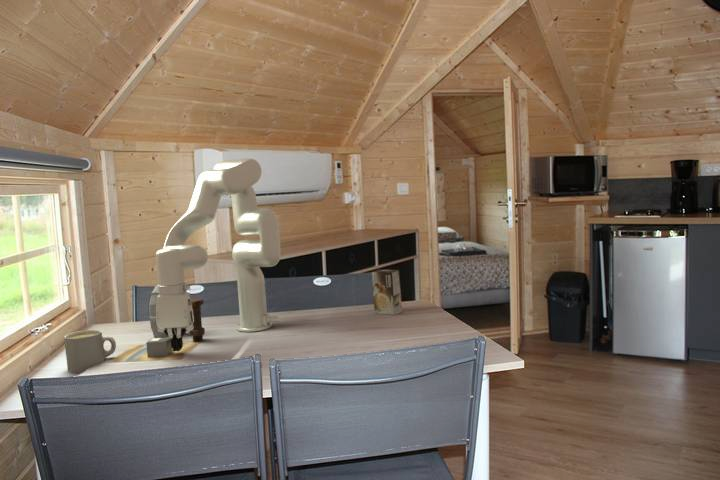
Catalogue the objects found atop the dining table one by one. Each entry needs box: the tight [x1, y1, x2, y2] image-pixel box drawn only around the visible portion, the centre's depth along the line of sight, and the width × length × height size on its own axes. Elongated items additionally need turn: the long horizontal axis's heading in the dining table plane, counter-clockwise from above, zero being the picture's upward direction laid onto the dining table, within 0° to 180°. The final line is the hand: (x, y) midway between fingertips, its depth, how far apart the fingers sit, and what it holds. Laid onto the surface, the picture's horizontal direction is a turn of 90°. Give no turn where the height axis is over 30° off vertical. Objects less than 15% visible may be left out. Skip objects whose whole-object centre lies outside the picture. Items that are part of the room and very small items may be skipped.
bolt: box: [189, 297, 206, 343], centre depth 189 cm, size 6×5×15 cm
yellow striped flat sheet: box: [107, 341, 202, 363], centre depth 179 cm, size 22×18×2 cm
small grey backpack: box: [148, 284, 177, 338], centre depth 201 cm, size 15×8×20 cm, turn 163°
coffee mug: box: [63, 329, 117, 374], centre depth 173 cm, size 13×10×10 cm
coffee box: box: [371, 268, 403, 316], centre depth 220 cm, size 9×6×16 cm
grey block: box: [145, 337, 173, 357], centre depth 176 cm, size 6×4×5 cm
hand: (177, 350), depth 176 cm, fingers closed
